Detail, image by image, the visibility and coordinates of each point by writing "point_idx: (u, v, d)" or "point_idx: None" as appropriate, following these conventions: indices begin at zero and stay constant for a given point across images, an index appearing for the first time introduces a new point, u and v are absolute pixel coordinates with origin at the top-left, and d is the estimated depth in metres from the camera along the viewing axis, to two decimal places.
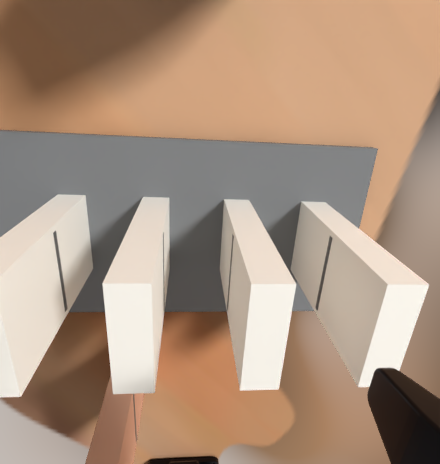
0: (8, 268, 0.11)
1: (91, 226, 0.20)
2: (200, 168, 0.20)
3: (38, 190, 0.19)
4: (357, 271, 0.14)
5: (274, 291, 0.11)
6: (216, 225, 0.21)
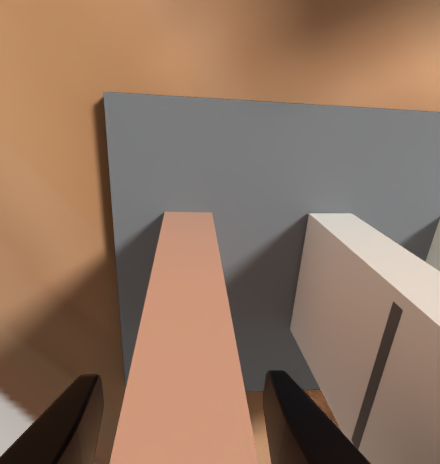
0: None
1: None
2: None
3: (279, 205, 0.11)
4: None
5: None
6: None
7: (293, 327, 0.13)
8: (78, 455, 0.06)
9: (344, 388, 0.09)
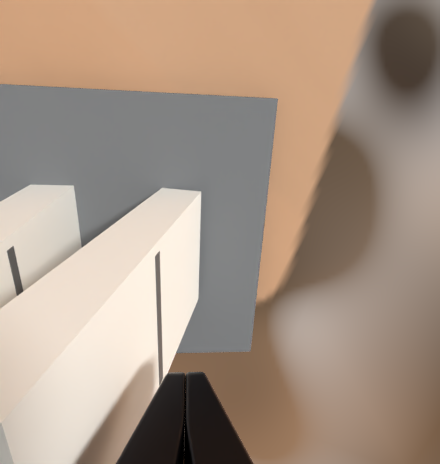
0: None
1: None
2: None
3: None
4: None
5: None
6: None
7: None
8: (182, 450, 0.06)
9: None
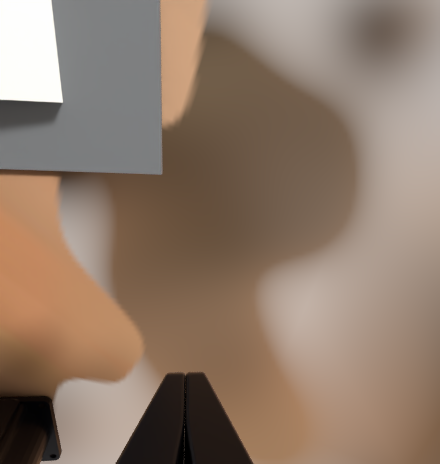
0: None
1: None
2: None
3: None
4: None
5: None
6: None
7: None
8: (182, 450, 0.06)
9: None
